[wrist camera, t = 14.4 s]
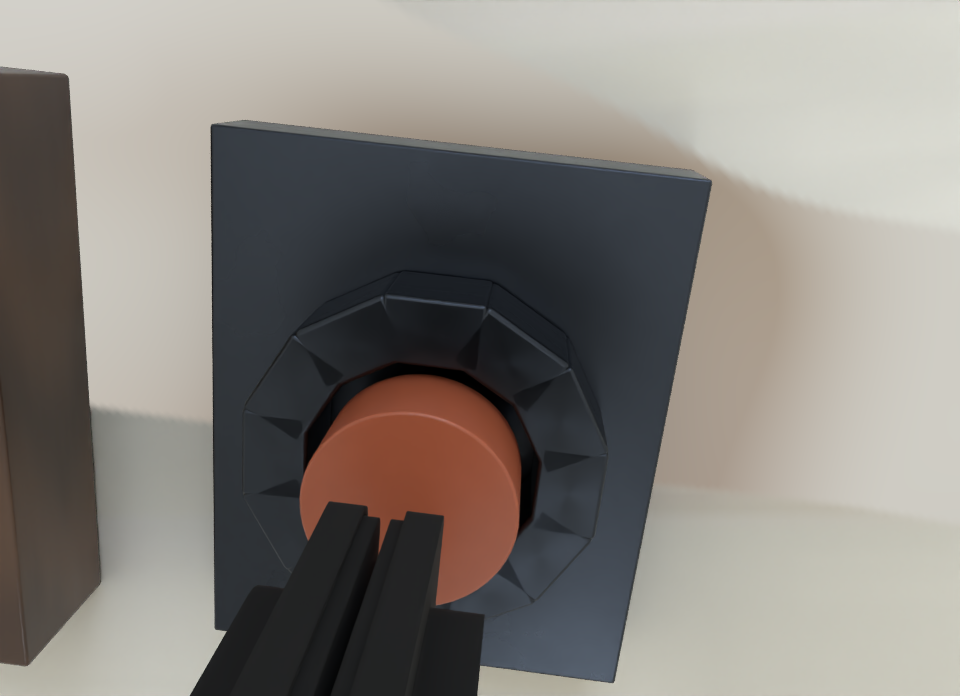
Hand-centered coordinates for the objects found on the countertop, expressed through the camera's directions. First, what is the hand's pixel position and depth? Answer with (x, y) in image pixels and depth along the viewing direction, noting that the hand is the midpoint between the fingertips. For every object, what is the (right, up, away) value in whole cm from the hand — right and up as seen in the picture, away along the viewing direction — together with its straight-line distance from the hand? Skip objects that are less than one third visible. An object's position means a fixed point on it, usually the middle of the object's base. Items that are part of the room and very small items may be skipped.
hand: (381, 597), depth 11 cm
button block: (+1, +2, +6) cm, 7 cm away
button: (0, +1, +3) cm, 3 cm away
